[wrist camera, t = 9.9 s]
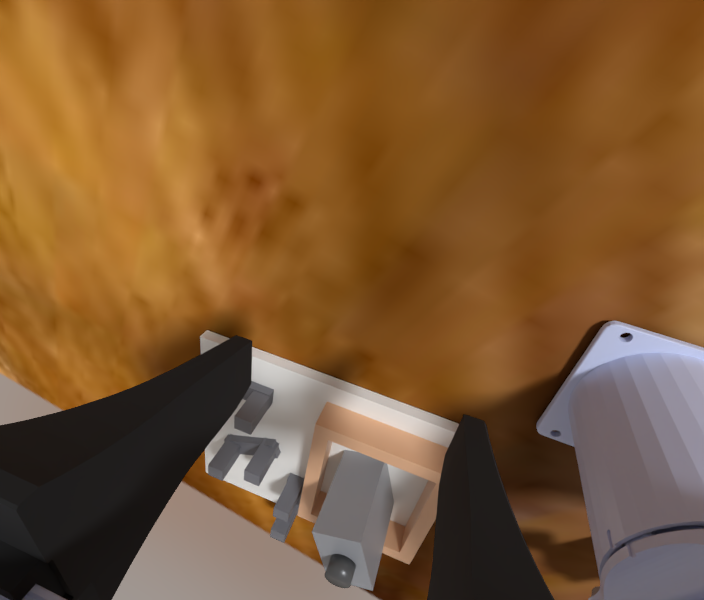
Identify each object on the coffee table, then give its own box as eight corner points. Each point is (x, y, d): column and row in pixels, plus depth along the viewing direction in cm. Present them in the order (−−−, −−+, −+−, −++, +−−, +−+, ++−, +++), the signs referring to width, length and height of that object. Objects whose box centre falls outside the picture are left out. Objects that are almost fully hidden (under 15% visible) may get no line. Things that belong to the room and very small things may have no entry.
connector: (385, 455, 27) (355, 561, 21) (393, 502, 30) (368, 609, 24) (344, 449, 28) (305, 548, 22) (355, 495, 31) (322, 595, 25)
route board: (477, 430, 25) (474, 484, 21) (410, 551, 33) (401, 601, 30) (207, 329, 28) (169, 364, 25) (211, 464, 37) (184, 502, 33)
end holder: (461, 452, 25) (458, 480, 23) (414, 538, 31) (409, 564, 29) (327, 401, 26) (315, 423, 25) (307, 492, 32) (297, 515, 31)
